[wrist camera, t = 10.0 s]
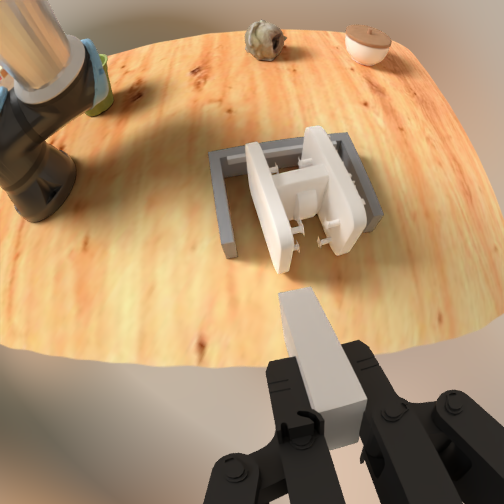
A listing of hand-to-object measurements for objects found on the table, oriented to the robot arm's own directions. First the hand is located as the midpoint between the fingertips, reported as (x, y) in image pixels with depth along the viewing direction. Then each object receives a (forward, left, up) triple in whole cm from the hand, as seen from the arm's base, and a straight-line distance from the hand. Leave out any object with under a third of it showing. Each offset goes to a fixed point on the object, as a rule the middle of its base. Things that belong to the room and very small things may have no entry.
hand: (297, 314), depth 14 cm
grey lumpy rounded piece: (-60, +11, -24) cm, 66 cm away
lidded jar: (-56, +34, -24) cm, 70 cm away
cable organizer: (-16, +6, -24) cm, 30 cm away
